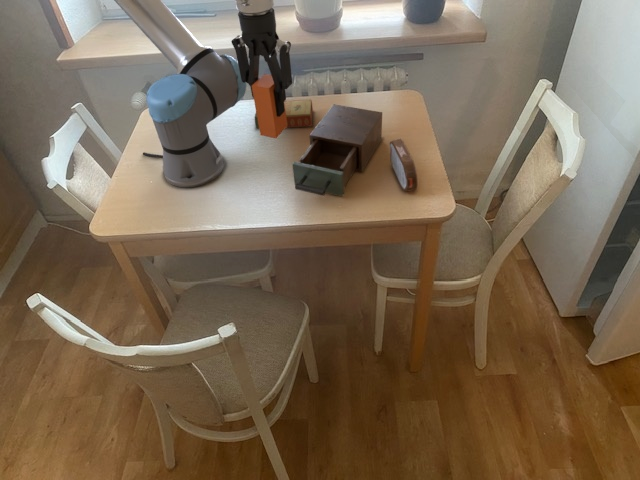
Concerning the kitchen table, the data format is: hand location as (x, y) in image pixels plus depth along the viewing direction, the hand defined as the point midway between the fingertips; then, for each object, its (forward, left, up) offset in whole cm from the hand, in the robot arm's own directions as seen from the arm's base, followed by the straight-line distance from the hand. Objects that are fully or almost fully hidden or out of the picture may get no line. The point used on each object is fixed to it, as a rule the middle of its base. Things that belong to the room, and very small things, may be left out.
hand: (271, 111), depth 113 cm
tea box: (0, 0, -5) cm, 5 cm away
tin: (+30, +12, -15) cm, 35 cm away
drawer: (+16, 0, -14) cm, 21 cm away
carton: (-12, +16, -15) cm, 25 cm away
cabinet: (+12, +14, -14) cm, 23 cm away
